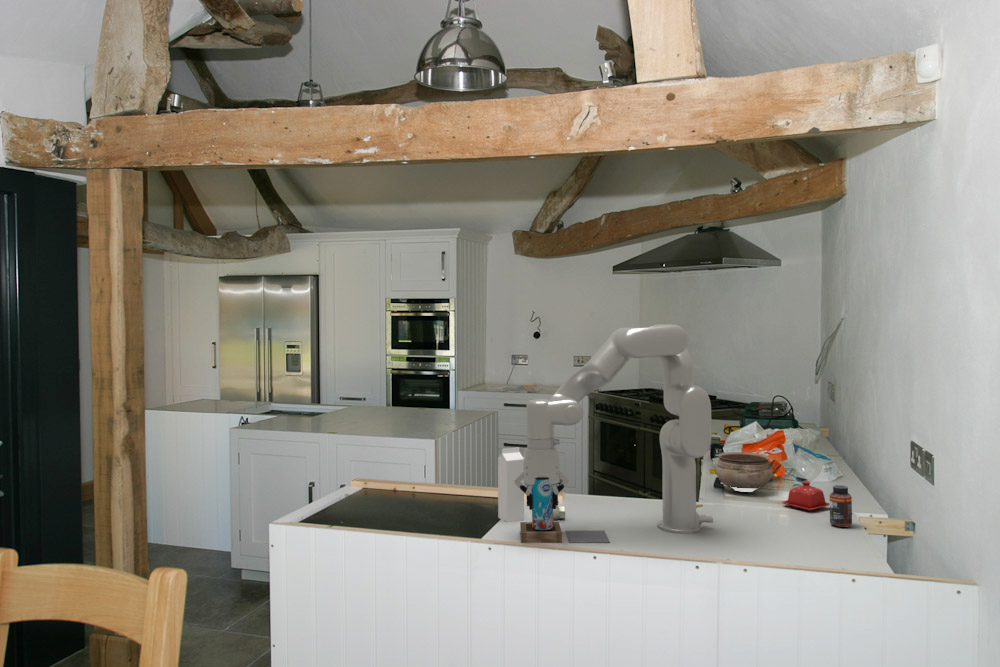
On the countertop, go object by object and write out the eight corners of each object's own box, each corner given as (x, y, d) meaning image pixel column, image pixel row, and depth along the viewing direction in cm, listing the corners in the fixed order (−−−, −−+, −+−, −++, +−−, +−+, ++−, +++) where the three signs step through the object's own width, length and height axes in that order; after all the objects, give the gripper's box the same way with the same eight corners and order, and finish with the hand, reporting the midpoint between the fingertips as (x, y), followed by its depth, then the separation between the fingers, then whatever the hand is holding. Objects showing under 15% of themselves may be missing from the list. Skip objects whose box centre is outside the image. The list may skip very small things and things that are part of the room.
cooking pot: (785, 498, 246) (785, 462, 246) (731, 499, 245) (731, 463, 244) (754, 482, 271) (754, 449, 271) (705, 483, 270) (705, 450, 269)
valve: (565, 522, 218) (565, 482, 218) (543, 522, 218) (543, 482, 218) (564, 516, 224) (564, 478, 224) (542, 516, 225) (542, 478, 224)
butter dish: (779, 505, 237) (779, 479, 237) (801, 501, 243) (801, 475, 243) (810, 513, 228) (810, 486, 227) (833, 508, 234) (833, 482, 234)
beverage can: (537, 533, 198) (536, 479, 198) (528, 528, 204) (527, 475, 204) (557, 530, 201) (555, 476, 200) (548, 525, 206) (546, 472, 206)
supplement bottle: (851, 523, 215) (851, 485, 215) (852, 528, 210) (852, 489, 210) (829, 521, 218) (829, 483, 218) (829, 526, 212) (829, 487, 212)
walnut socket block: (558, 532, 208) (558, 521, 208) (562, 544, 197) (561, 533, 197) (520, 532, 208) (520, 522, 208) (521, 544, 197) (521, 533, 197)
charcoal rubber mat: (604, 532, 208) (604, 530, 208) (610, 543, 197) (609, 542, 197) (565, 532, 208) (565, 530, 208) (569, 544, 197) (569, 542, 197)
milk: (498, 519, 223) (497, 447, 222) (515, 516, 225) (514, 445, 225) (507, 523, 217) (506, 450, 217) (524, 521, 220) (524, 448, 220)
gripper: (570, 440, 206) (572, 504, 206) (509, 442, 206) (511, 505, 206) (573, 445, 198) (574, 511, 198) (509, 447, 198) (511, 512, 198)
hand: (542, 507), depth 202 cm, fingers closed on beverage can, 5 cm apart
